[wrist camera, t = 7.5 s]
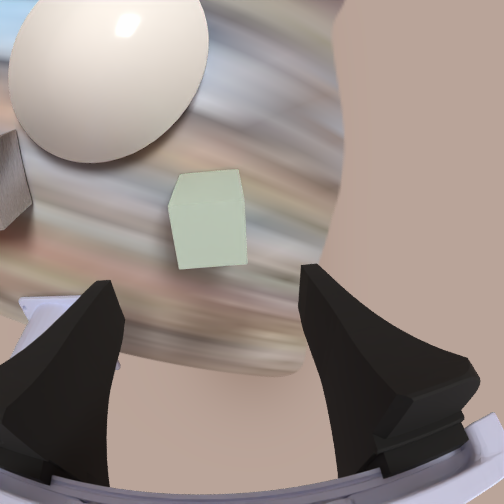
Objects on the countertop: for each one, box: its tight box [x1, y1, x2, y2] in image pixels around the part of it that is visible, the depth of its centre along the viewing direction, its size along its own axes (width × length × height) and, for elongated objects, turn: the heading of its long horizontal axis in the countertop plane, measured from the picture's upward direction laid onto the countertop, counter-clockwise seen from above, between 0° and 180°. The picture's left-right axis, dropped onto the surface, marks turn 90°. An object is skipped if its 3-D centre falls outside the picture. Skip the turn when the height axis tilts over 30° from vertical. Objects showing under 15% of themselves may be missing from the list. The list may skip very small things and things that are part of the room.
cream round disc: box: [8, 0, 209, 163], centre depth 13 cm, size 13×13×1 cm
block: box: [168, 169, 247, 269], centre depth 17 cm, size 4×4×5 cm
